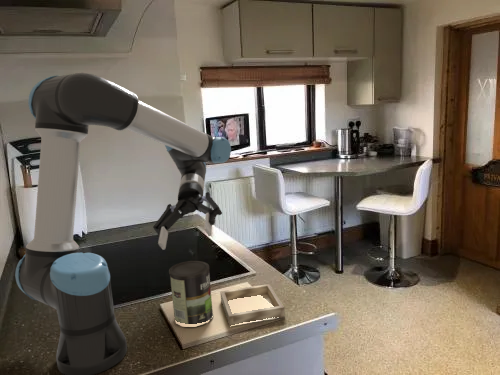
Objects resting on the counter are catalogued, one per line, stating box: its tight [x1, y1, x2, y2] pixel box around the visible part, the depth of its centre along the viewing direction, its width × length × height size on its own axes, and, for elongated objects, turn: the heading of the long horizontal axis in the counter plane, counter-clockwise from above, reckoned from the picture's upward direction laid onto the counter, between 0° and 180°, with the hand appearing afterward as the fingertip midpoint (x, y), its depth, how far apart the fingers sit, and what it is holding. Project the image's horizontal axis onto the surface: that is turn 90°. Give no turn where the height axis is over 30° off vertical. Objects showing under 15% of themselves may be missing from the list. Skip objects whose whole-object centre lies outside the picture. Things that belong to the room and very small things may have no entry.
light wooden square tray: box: [219, 283, 286, 327], centre depth 114 cm, size 14×14×3 cm
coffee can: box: [168, 260, 214, 324], centre depth 110 cm, size 10×10×14 cm
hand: (184, 239), depth 113 cm, fingers open, 13 cm apart
